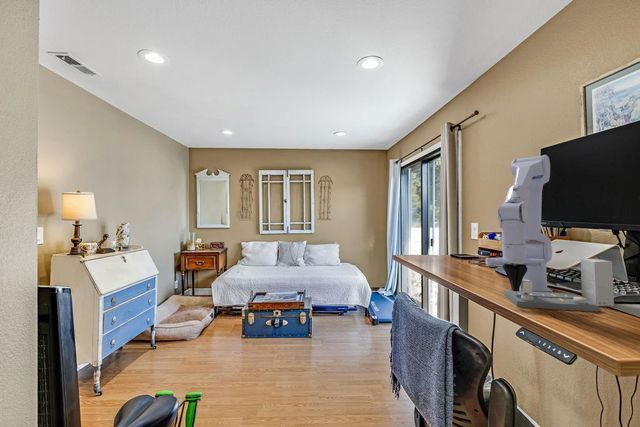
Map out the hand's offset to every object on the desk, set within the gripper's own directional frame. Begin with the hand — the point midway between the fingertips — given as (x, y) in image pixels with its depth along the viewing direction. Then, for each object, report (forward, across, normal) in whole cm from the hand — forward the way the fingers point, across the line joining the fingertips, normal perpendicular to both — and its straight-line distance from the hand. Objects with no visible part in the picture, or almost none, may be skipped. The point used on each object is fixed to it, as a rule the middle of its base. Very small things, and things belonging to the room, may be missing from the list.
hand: (515, 290), depth 86 cm
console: (+3, +8, 0) cm, 8 cm away
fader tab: (+1, +3, 0) cm, 3 cm away
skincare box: (+3, +20, +2) cm, 20 cm away
